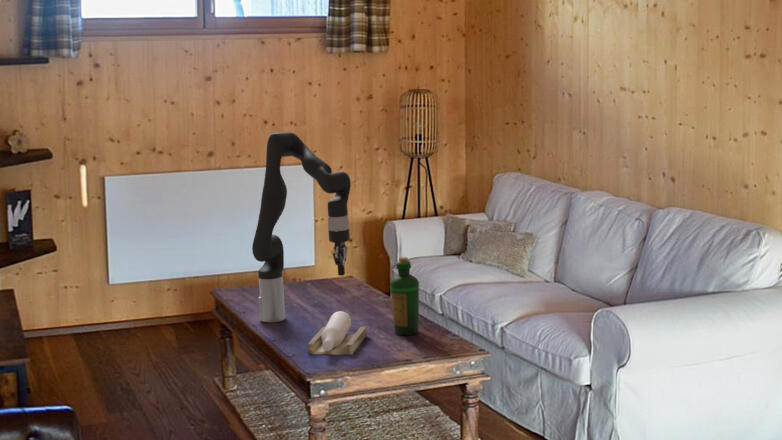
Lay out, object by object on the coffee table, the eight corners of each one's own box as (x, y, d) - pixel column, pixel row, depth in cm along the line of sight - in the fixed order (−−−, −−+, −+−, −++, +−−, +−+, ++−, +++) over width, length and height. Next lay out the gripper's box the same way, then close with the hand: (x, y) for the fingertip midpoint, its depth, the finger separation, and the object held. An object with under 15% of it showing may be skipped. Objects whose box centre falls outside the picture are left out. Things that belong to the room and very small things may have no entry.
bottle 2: (391, 329, 402) (387, 256, 397) (419, 327, 403) (416, 254, 398) (393, 337, 392) (389, 262, 387) (422, 335, 392) (419, 260, 387)
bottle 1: (355, 320, 398) (343, 345, 369) (342, 335, 400) (328, 361, 371) (339, 306, 398) (325, 330, 369) (325, 321, 400) (311, 346, 371)
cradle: (308, 354, 377) (307, 344, 377) (324, 335, 398) (323, 326, 398) (352, 354, 374) (352, 344, 373) (366, 336, 395) (366, 326, 395)
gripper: (333, 224, 396) (335, 270, 399) (324, 231, 383) (327, 279, 386) (353, 224, 394) (355, 270, 398) (344, 231, 382) (347, 279, 385)
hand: (341, 275), depth 392 cm, fingers closed
